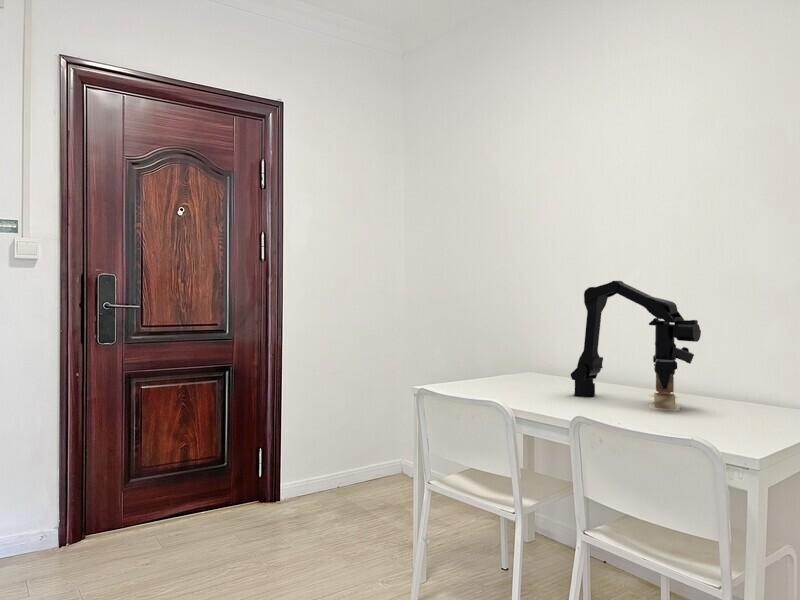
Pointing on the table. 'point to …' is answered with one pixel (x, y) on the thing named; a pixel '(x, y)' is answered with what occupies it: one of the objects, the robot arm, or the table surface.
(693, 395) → the table surface
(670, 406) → the oak base block
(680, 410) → the mat
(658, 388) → the walnut cube
